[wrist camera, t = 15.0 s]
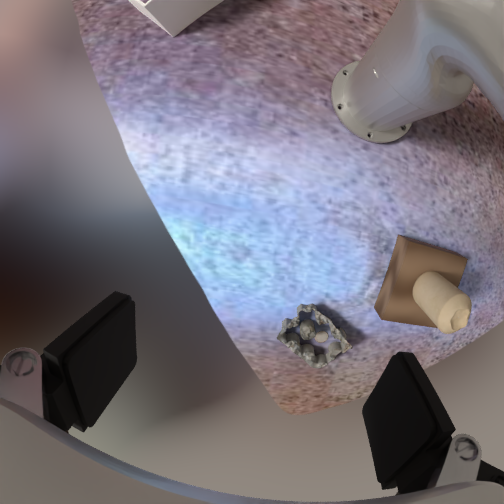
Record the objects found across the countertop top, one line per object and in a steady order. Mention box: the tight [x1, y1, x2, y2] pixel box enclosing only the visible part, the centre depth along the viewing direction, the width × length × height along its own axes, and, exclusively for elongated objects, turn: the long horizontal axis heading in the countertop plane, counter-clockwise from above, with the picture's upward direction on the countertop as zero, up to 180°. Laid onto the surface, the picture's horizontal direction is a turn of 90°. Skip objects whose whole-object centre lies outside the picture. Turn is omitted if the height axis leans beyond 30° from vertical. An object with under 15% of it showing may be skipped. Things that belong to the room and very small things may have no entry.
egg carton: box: [277, 304, 353, 368], centre depth 40 cm, size 11×8×4 cm
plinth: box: [374, 235, 468, 328], centre depth 36 cm, size 12×12×4 cm
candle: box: [413, 271, 472, 334], centre depth 29 cm, size 6×6×10 cm
